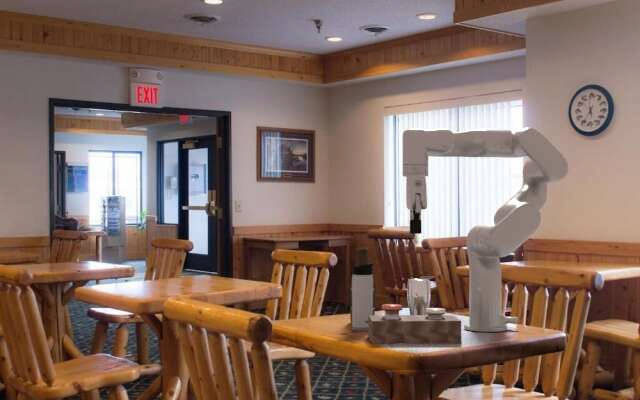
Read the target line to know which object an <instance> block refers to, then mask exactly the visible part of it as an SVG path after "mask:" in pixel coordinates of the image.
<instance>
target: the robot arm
mask: <svg viewBox="0 0 640 400" xmlns="http://www.w3.org/2000/svg"><path fill="white" fill-rule="evenodd" d="M429 157H436V158H437V157H440V158H441V157H445V158H447V157H449V158H451V157H453V158H455V157H456V158H458V157H459V158H505V159H507V158H508V159H509V158H511V159H512V158H513V159H514V158H524V157H527V158H529V159H527V160H526V162H524V166H523V169H522V178H523V179H522V186H521V188H520V189H519V191H517V192H516V193H515V194H514V195H513V196H512V197H511V198H509V199H508V201H506V202H505V203H504V204H503V205H502V206H500V207H499V208H498V209H497V210H496V212H495V213H494V216H493V224H488V223H487V224H486V223H484V224H478V225H474V226H473V227H472V228H471V229H470V230H469V231H468V234H467V236H466V243H465V244H466V251H467V257H468V266H469V267H468V268H469V269H468V271H469V272H468V273H469V277H468V278H469V279H468V281H469V283H468V287H469V289H468V290H469V291H468V293H469V294H468V295H469V296H468V297H469V299H468V301H469V303H468V306H469V307H468V308H469V311H468V312H469V313H468V315H469V317H468V321H469V322H468V323H465V324H464V325H463V326H464V329H465V330H467V331H472V332H480V333H481V332H483V333H484V332H485V333H497V332H505V331H507V330H508V327H507V325H508V324H518V322H519V317H518V316H506V315H505V314H502V313H503V312H502V309H503V308H502V305H503V304H502V302H503V301H502V300H503V299H502V265H501V260H500V258H505V257H507V256H509V255H511V254H512V253H514V252H516V250H517V249H518V248H519V247H521V246H522V245H523V244H524V243H525V242H526V241H527V240H528V239H529V238H531V237H532V235H534V234H535V233H536V231H538V229H539V227H540V224H541V220H542V219H541V218H542V217H541V212H540V211H541V209H542V208H543V207H544V206H545V204H546V202H547V198H548V183H556V182H557V183H558V182H561V181H562V180H564V178H566V177H567V175H568V173H569V165H568V161H567V159H566V158H565V156H564V155H563V154H562V153H561V151H559V150H558V149H557V148H556V146H555V145H553V143H552V142H551V141H550V140H549V139H548V138H547V137H546V136H545V135H544V134H542V133H541V132H540V131H538V129H535V128H533V127H524V128H519V129H494V128H493V129H492V128H490V129H489V128H488V129H487V128H479V129H472V130H471V129H470V130H467V131H459V132H458V131H457V132H453V131H451V130H450V129H448V128H436V129H423V128H409V129H405V130H404V131H403V132H402V177H404V178H405V177H406V180H405V181H406V182H405V193H406V194H405V198H406V200H405V201H406V209H407V210H409V234H413V235H415V234H416V235H417V234H418V235H420V234H422V210H426V209H427V208H428V193H427V192H428V191H427V178H426V177H429Z"/></svg>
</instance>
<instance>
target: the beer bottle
mask: <svg viewBox="0 0 640 400" xmlns="http://www.w3.org/2000/svg"><path fill="white" fill-rule="evenodd" d="M368 252H369V249H368V248H367V247H358V248H356V253H357V255H356V266H358V265H366V264H369V257H368ZM375 289H376V288H375V282H374V280H373V315H376V314H375V312H376V311H375V310H376V309H375V297H376V296H375ZM349 292H350V296H349V298H350V299H349V302H350V309H349V310H350V311H349V313H350V323H351V324H352V280H351V281H350V291H349Z"/></svg>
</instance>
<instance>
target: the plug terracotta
mask: <svg viewBox="0 0 640 400" xmlns="http://www.w3.org/2000/svg"><path fill="white" fill-rule="evenodd" d="M402 310H403V305H402V304H398V303H397V304H395V303H387V304H386V303H385V304H382V305H381V311H384V315H385V319H399V315H400V311H402Z"/></svg>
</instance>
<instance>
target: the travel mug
mask: <svg viewBox="0 0 640 400" xmlns="http://www.w3.org/2000/svg"><path fill="white" fill-rule="evenodd" d="M374 266H375V263H374V262H373V263H368V264H366V265H358V266H357V265H354V266H352V267H351V270H352V274H351V276H352V277H351V281H352V323H351V324H352V325H351V329H352V331H354V332H368V315H373V281H374V273H373V267H374Z"/></svg>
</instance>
